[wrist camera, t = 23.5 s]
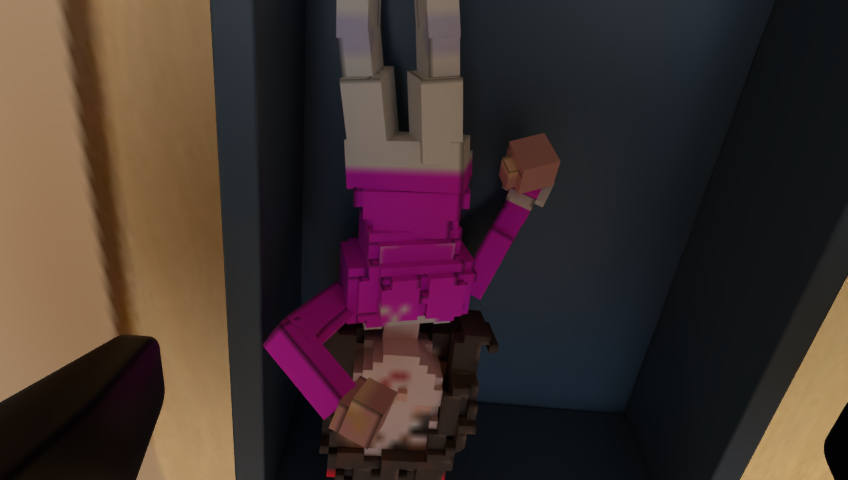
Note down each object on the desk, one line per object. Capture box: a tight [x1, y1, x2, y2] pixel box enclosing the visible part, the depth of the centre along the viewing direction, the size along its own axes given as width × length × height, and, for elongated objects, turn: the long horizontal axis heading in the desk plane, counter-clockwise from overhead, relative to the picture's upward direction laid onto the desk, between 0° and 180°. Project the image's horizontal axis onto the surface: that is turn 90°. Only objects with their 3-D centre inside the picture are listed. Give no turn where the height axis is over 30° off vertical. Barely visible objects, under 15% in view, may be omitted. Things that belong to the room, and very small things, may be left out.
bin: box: [210, 0, 848, 480], centre depth 11 cm, size 16×10×4 cm, turn 174°
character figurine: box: [263, 0, 560, 480], centre depth 11 cm, size 6×5×12 cm
